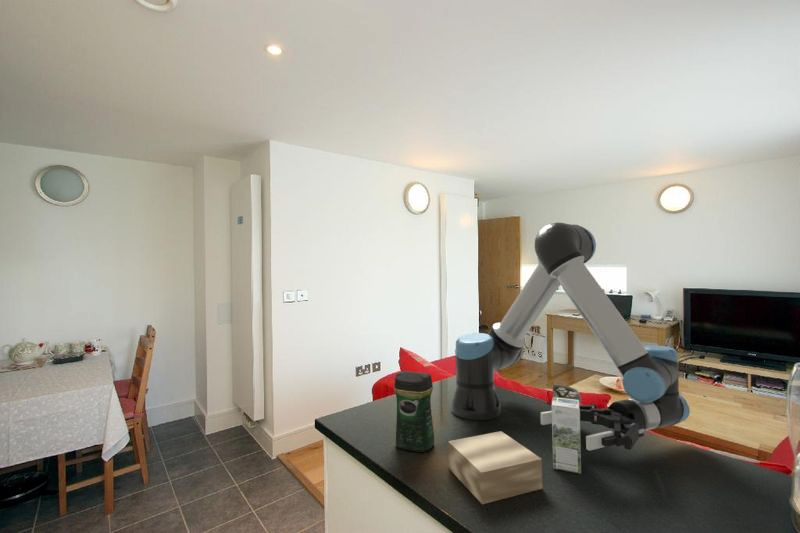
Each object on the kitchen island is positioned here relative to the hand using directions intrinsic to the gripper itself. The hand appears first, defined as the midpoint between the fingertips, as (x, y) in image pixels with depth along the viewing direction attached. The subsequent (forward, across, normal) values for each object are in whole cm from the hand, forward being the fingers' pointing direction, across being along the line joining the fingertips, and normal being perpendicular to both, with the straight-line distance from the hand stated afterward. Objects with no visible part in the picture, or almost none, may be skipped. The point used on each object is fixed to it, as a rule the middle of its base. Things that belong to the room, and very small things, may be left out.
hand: (562, 430), depth 83 cm
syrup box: (-1, 0, -9) cm, 9 cm away
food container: (-18, +16, -9) cm, 25 cm away
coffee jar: (+26, +23, -9) cm, 36 cm away
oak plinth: (+17, +2, -8) cm, 19 cm away
